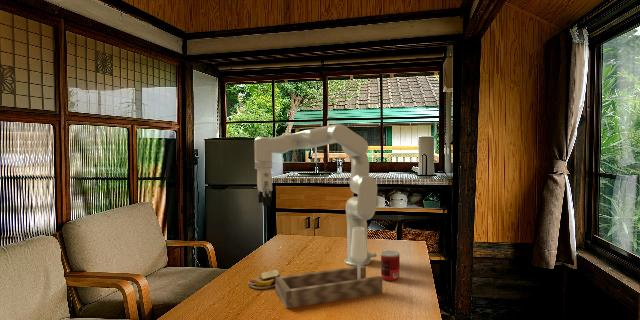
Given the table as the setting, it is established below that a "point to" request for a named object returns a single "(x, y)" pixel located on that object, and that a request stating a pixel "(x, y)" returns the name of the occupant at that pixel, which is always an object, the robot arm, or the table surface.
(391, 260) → the canned food
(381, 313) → the table surface
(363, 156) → the robot arm
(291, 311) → the table surface
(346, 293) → the walnut U-rest
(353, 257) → the champagne flute
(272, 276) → the toy sandwich meal
